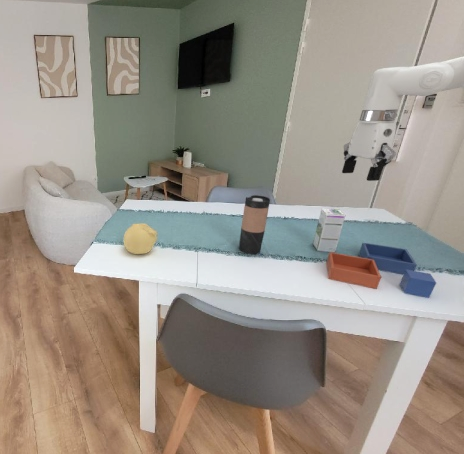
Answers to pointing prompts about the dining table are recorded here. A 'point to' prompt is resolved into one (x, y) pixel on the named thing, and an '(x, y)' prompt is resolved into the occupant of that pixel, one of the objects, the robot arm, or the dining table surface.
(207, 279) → the dining table surface
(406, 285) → the blue block
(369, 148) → the robot arm
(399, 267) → the blue bin
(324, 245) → the syrup box
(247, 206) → the travel mug
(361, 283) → the terracotta bin
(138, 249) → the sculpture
